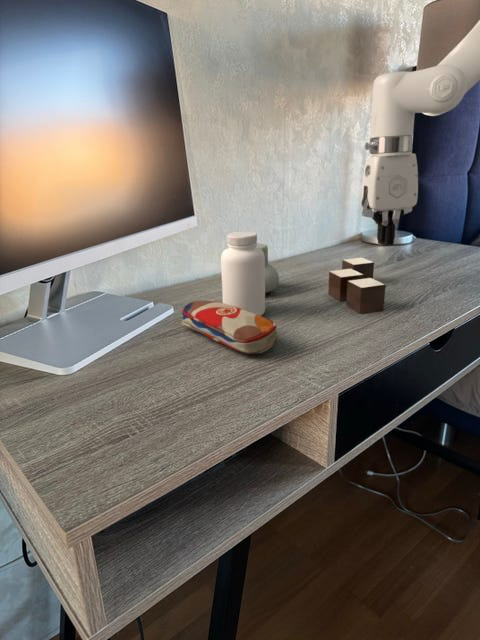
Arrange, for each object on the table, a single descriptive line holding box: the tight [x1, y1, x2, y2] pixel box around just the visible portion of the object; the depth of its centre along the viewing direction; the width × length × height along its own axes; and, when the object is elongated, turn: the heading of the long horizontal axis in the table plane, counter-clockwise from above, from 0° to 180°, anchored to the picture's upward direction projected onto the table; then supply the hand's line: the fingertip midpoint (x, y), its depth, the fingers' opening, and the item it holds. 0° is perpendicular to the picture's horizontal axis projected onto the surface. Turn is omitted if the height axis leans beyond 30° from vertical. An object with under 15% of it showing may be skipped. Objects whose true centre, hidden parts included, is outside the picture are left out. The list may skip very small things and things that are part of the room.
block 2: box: [346, 278, 386, 315], centre depth 83 cm, size 5×5×5 cm
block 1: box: [341, 257, 375, 279], centre depth 98 cm, size 5×5×5 cm
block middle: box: [327, 269, 363, 302], centre depth 90 cm, size 5×5×5 cm
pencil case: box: [180, 300, 278, 355], centre depth 73 cm, size 11×20×5 cm, turn 25°
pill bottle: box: [220, 231, 266, 316], centre depth 81 cm, size 8×8×15 cm
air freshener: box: [256, 242, 280, 294], centre depth 95 cm, size 11×8×10 cm
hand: (385, 244), depth 90 cm, fingers closed
